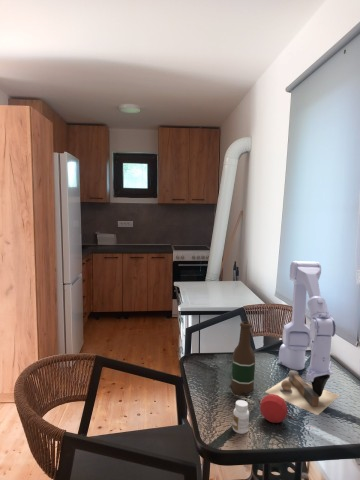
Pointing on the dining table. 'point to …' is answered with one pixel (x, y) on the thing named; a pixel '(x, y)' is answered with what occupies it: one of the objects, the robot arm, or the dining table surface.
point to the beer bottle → (243, 363)
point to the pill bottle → (241, 417)
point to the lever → (304, 388)
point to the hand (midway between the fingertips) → (317, 395)
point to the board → (301, 396)
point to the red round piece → (273, 408)
